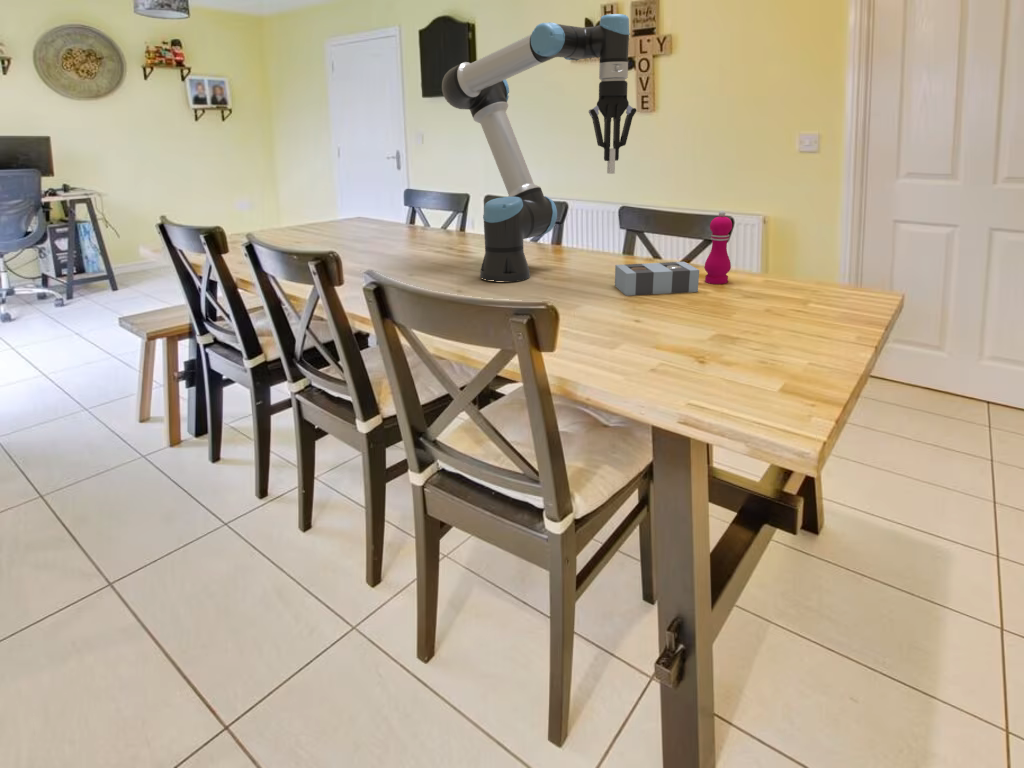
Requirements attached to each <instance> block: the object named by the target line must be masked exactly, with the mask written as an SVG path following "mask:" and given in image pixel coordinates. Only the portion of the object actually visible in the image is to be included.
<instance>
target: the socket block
mask: <svg viewBox="0 0 1024 768" xmlns="http://www.w3.org/2000/svg"><path fill="white" fill-rule="evenodd" d="M670 265H677V266H681V268H672V269H668V268H667V266H670ZM614 267H615V268H614V286H615V287H616V288H617V290H619V291H620V292H621V293H622V294H623V295H624V296H625V297H626V296H628V297H629V296H643V295H646V296H647V295H649V296H650V295H664V294H667V295H668V294H684V293H699V283H700V282H699V281H700V280H699V279H700V269H698V268H697V267H695V266H693V265H691V264H690V263H687V262H685V261H670V262H668V261H667V262H652V263H651V262H650V263H649V262H647V263H646V262H645V263H631V264H630V263H629V264H628V263H627V264H626V263H625V264H624V263H623V264H615V266H614ZM633 267H644V268H646V270H631V268H633Z"/></svg>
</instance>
